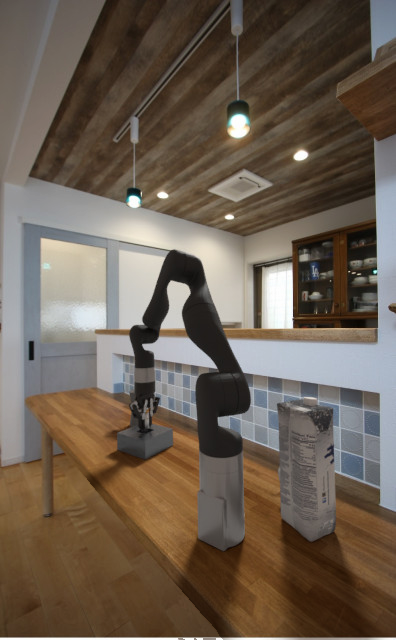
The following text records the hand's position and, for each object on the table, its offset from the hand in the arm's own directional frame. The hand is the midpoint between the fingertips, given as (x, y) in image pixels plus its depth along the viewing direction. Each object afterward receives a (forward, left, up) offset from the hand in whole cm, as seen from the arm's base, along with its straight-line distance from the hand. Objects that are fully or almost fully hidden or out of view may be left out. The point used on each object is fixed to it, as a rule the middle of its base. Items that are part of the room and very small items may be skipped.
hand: (145, 427), depth 105 cm
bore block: (0, 0, -7) cm, 7 cm away
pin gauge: (0, 0, -3) cm, 3 cm away
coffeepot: (+16, +19, -7) cm, 26 cm away
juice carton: (-10, -59, -7) cm, 60 cm away
